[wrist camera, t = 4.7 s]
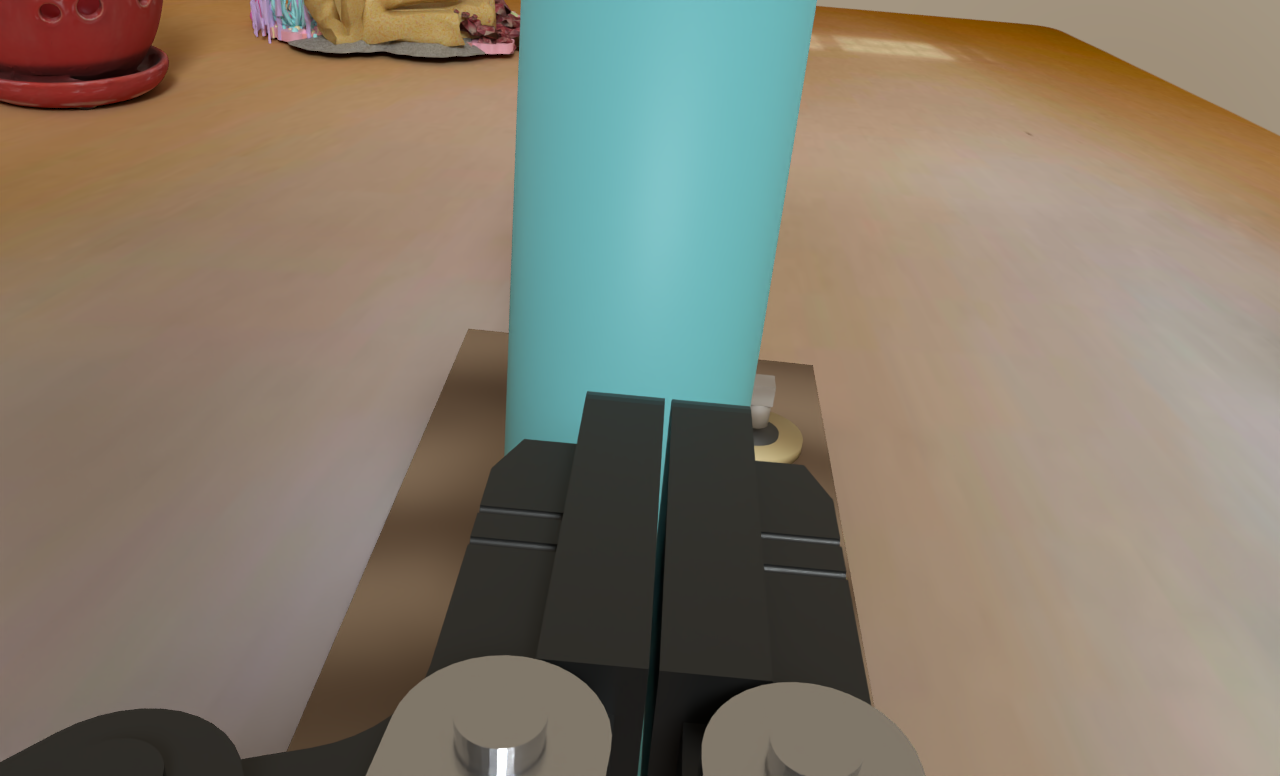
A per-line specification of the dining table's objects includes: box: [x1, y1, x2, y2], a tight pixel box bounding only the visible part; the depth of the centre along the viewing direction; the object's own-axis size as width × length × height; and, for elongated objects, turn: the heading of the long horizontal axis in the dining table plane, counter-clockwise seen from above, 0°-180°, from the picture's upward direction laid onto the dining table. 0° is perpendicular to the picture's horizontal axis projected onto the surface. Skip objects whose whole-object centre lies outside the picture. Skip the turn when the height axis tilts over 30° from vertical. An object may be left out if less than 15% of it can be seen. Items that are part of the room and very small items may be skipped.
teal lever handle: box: [504, 0, 817, 776], centre depth 19 cm, size 4×6×16 cm, turn 87°
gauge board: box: [287, 329, 874, 752], centre depth 26 cm, size 26×13×19 cm, turn 177°
